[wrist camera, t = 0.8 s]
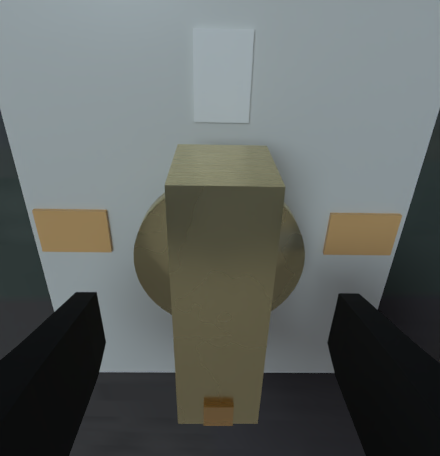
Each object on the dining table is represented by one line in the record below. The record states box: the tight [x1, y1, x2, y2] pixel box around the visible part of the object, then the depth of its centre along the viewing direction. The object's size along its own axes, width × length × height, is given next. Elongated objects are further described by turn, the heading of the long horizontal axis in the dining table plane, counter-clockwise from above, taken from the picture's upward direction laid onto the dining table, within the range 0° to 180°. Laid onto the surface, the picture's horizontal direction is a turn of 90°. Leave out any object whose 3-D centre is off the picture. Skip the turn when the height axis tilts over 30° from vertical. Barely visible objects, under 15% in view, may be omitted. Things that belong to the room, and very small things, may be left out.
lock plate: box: [0, 0, 440, 373], centre depth 15 cm, size 16×18×2 cm
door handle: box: [133, 144, 305, 426], centre depth 12 cm, size 6×9×4 cm
